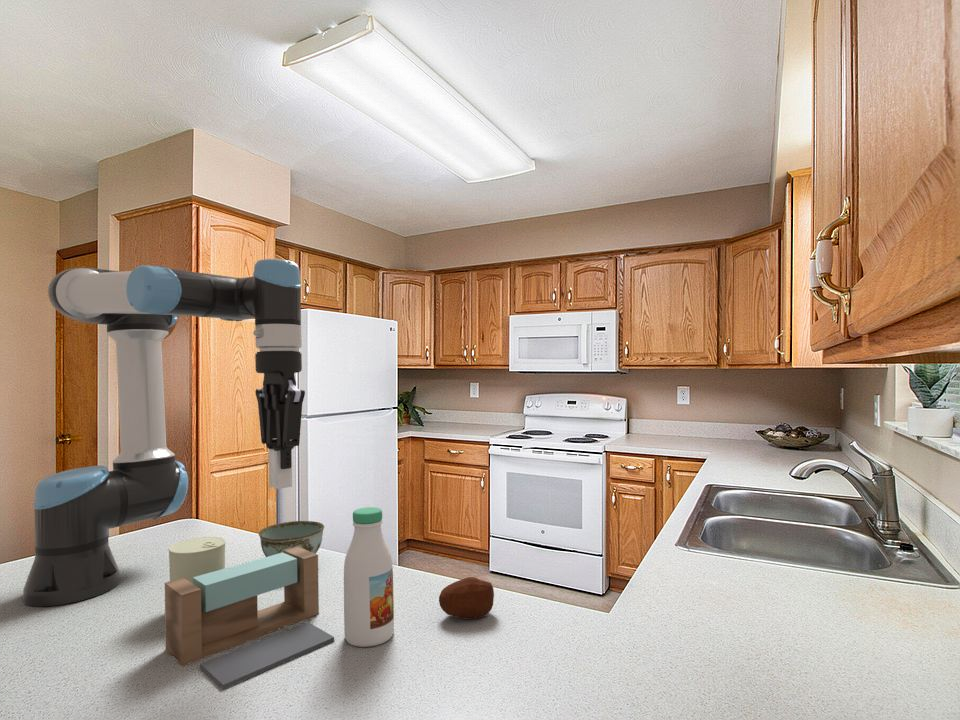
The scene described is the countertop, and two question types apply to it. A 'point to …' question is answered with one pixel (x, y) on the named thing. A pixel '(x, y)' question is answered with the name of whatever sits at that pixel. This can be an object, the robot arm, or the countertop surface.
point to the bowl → (291, 537)
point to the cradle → (235, 614)
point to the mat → (265, 654)
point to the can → (196, 557)
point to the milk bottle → (368, 582)
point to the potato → (467, 598)
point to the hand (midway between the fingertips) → (280, 486)
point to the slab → (245, 580)
